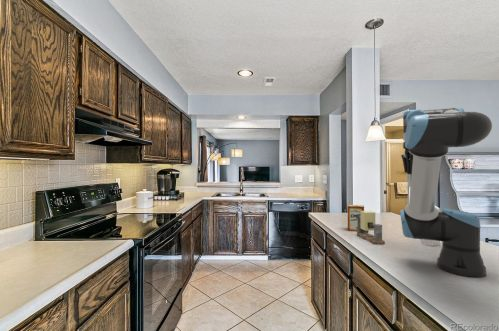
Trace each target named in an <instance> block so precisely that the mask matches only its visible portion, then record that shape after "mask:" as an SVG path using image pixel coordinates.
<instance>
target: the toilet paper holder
mask: <svg viewBox="0 0 499 331" xmlns="http://www.w3.org/2000/svg"><path fill="white" fill-rule="evenodd" d="M368 226H369V227H371V228H374V230H373V234H371V233H369V231H365V230H363V229H361V228H360V216H358V232H356V236H358V237H359V238H361V239H363V240H365V241H367V242H369V243H371V244H373V245H385V244H386V242H385V240H383V224H380V223H375V224H374V225H373V224H371V223H369V222H368Z"/></svg>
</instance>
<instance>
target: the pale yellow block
mask: <svg viewBox="0 0 499 331" xmlns="http://www.w3.org/2000/svg"><path fill="white" fill-rule="evenodd" d="M368 222H369V223H371V224H373V225H374V224H376V211H375V212H374V211H372V210H364V211H360V228H361V229H363V230H365V231H368V232H369V231H374V228H371V227H369V226H368Z"/></svg>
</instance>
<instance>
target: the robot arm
mask: <svg viewBox="0 0 499 331" xmlns="http://www.w3.org/2000/svg"><path fill="white" fill-rule="evenodd" d="M402 119H403V120H402V121H403V122H402V124H403V125H402V128H403V132H402V140H403V142H402V144H403V145H402V148H403V149H404V154H401V156H400V157H401V159H402V164H403V170H404V171H403V172H404V173H406V174H407V182H408V183H407V185H408V186H407V188H410V193H409V201H408V202H409V203H407V204H405V206H404V209H401V210H399V212H400V213H399V214H400V222H401V226H402V227H401V229H402V234H403V236H404V237H405V238H408V239H410V238H411V239H413V240H417V239H418V240H421V239H425V240H435V241H440V242H442V243H441V244H442V246H441V249H440V252H439V256H438V257H437V261H436V266H437V267H438V268H440V269H441V270H444V271H445V272H448V273H450V274H454V275H458V276H463V277H471V278H481V277H483V278H484V277H485V276H487V267H486V266H485V264H484V261H483V258H482V255H481V220H480V217H479V216H478V215H477V214H475V213H472V212H468V211H463V210H458V209H453V208H443V209H441V211H440V212H438V210H437V209H436V208H435V206H436V201H437V192H438V186H439V178H440V173H441V172H440V171H441V163H442V157H445V156H446V155H448V153H449V148H461V147H462V148H463V147H469V146H472V145H475V144H478V143H480V142H482V141H483V140H485V139H486V138H487V137H488V136H489V134H491V131H492V129H493V122H492V120H491V119H490V118H489V116H488V115H486V114H484V113H481V112H477V111H465V110H464V108H462V107H450V108H440V109H428V110H427V109H426V110H425V109H424V110H421V109H410V110H405V111H404V112H403V116H402Z"/></svg>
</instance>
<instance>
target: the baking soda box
mask: <svg viewBox="0 0 499 331" xmlns="http://www.w3.org/2000/svg"><path fill="white" fill-rule="evenodd" d="M360 211H365V206H364V205H362V204H347V231H348V232H355V233H358V216H360Z"/></svg>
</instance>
